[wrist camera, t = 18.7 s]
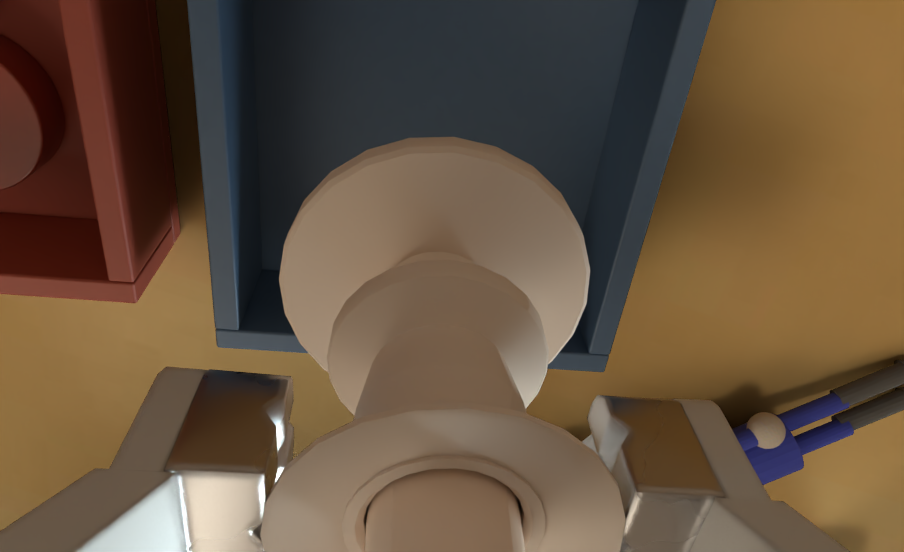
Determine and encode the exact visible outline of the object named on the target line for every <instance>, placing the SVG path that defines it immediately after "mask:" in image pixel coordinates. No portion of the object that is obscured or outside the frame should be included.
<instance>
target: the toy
mask: <svg viewBox="0 0 904 552" xmlns="http://www.w3.org/2000/svg"><path fill="white" fill-rule="evenodd" d="M902 384H904V360H895V362H894V364H893V365H891V366H889V367H886V368H884V369H881V370H879V371H876V372H874V373H872V374H869V375H867V376H864V377H862V378H860V379H857V380H855V381H852V382H850V383H847V384H845V385H843V386H840V387H838V388H835V389H833V390H830V394H828V395H826V396H823V397H821V398H818V399H816V400H813V401H811V402H809V403H806V404H804V405H801V406H799V407H796V408H794V409H792V410H789V411H787V412H784V413H782V414H779V415H777V416H776V415H775V414H773V413H767V412H762V413H758V414H755V415H754V416H752V417H751V418H750V419H749V421H748V422H747V423H745V424H742V425H740V426H738V427H735V428H733V429H732V431H733V432H734V434H735V436H736V438H737V440H738V441H739V443H740V445H741V447H742V449H743V450H744V452H745V454H746V456H747V458H748V459H749V461H750V463H751V465H752V467H753V468H754V470H755V472H756V474H757V476H758V477H759V479H760V481H761V483H762V485H764V484H766V483H769V482H771V481H774V480H776V479H779V478H781V477H784V476H786V475H788V474H791V473H793V472H796V471H798V470H801V469H802V468H803V466H804V462H803V457H802V455H804V454H806V453H809V452H811V451H814V450H816V449H818V448H821V447H823V446H826V445H828V444H831V443H833V442H836V441H838V440H840V439H843V438H845V437H848V436H850V435H853V433H854V430H856V429H858V428H861V427H863V426H865V425H868V424H870V423H873V422H875V421H878V420H880V419H883V418H885V417H887V416H890V415H892V414H895V413H897V412H900V411H902V410H904V387H901V388H895V387H897V386H900V385H902ZM892 388H895V390H894V391H892V392H890V393H887V394H885V395H882V396H880V397H877V398H875V399H873V400H870V401H868V402H865V403H863V404H860V405H858V406H856V407H853V408H851V409H848V410H846V411H843V412H841V413H839V414H836V415H834V416H832V417H831V419H832V421H831V422H828V423H826V424H823V425H821V426H818V427H816V428H814V429H811V430H809V431H806V432H804V433H801V434H799V435H797V436H794V437H793V435H792V433H791V432H790V431H793V430H795V429H798V428H800V427H803V426H805V425H807V424H810V423H812V422H815V421H817V420H820V419H822V418H825V417H827V416H829V415H832V414H834V413H837V412H839V411H842V410H844V409H847V408H849V406H851V405H853V404H856V403H858V402H861V401H863V400H865V399H868V398H870V397H873V396H875V395H878V394H880V393H883V392H885V391H887V390H890V389H892Z"/></svg>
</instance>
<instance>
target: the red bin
mask: <svg viewBox="0 0 904 552" xmlns="http://www.w3.org/2000/svg"><path fill="white" fill-rule="evenodd" d="M0 34H1V35H2V36H4V37H6V38H8V39H10V40H11V41H13V42H14V43H16V44H17V45H19V46H20V47H21V48H22V49H24V50H25V51H26V52H27V53H29V54H30V55H31V56H32V57H33V58H34V59H35V60H36V61H37V62H38V63H39V65H40V66H41V67H42V68H43V69H44V71H45V72H46V73H47V75H48V76H49V78H50V79H51V81H52V83H53V84H54V86H55V88H56V90H57V92H58V95H59V98H60V100H61V104H62V108H63V113H64V132H63V138H62V141H61V143H60V146H59V148H58V150H57V151H56V153H55V154H54V155H53V157H52V158H51V159H50V160H49V161H47V162H46V163H45V164H44V165H43V166H41V167H40V168H39V169H38V170H37V171H35V172H34V173H33V174H32V175H30V176H29V177H28V178H27V179H26V180H24V181H23V182H21V183H20V184H18V185H16V186H14V187H11V188H8V189H5V190H0V294H11V295H26V296H40V297H54V298H69V299H83V300H97V301H112V302H126V303H136V302H137V301H138V300H139V298H140V297H141V295H142V293H143V292H144V290H145V289H146V287H147V286H148V284H149V282H150V281H151V279H152V278H153V276H154V275H155V273H156V271H157V270H158V268H159V267H160V265H161V263H162V262H163V260H164V259H165V257H166V256H167V254H168V252H169V251H170V249H171V248H172V246H173V245H174V242H175V241H176V240H177V238H178V237H179V235H180V224H179V215H178V206H177V197H176V188H175V178H174V169H173V160H172V151H171V142H170V133H169V124H168V115H167V105H166V96H165V87H164V78H163V69H162V60H161V51H160V42H159V32H158V23H157V14H156V5H155V0H0Z"/></svg>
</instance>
